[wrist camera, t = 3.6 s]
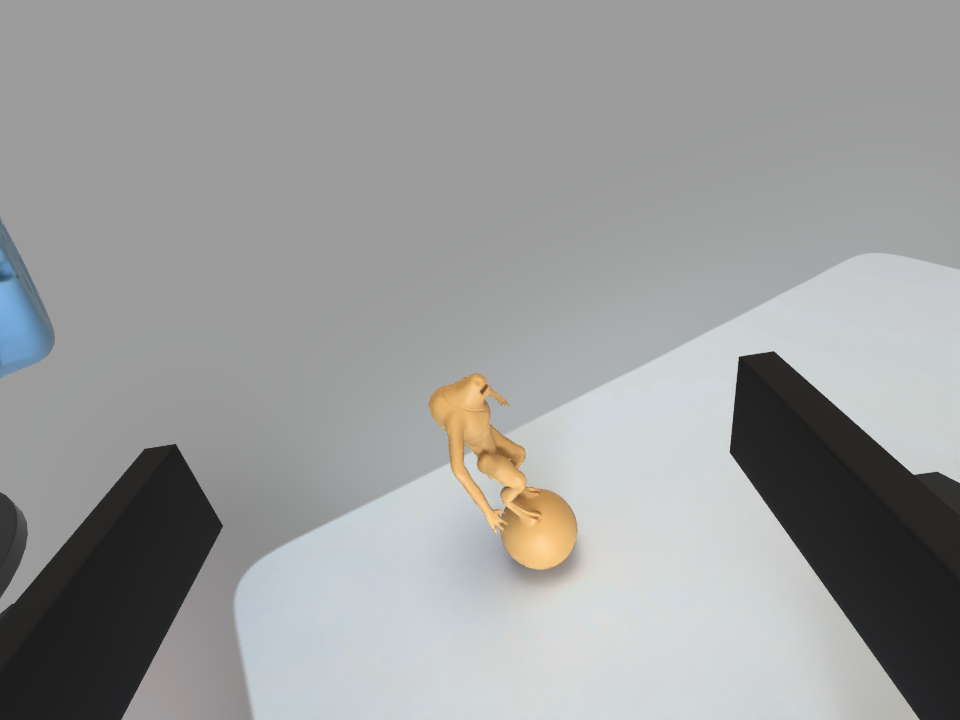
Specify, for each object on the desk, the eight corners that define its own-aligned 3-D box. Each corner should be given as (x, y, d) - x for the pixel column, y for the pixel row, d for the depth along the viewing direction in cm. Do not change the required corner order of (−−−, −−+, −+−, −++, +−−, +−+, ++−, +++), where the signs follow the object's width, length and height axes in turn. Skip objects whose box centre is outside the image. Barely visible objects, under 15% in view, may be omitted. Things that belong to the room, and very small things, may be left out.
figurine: (587, 626, 24) (576, 435, 18) (461, 630, 25) (405, 447, 18) (571, 491, 31) (558, 317, 24) (473, 497, 32) (435, 330, 25)
